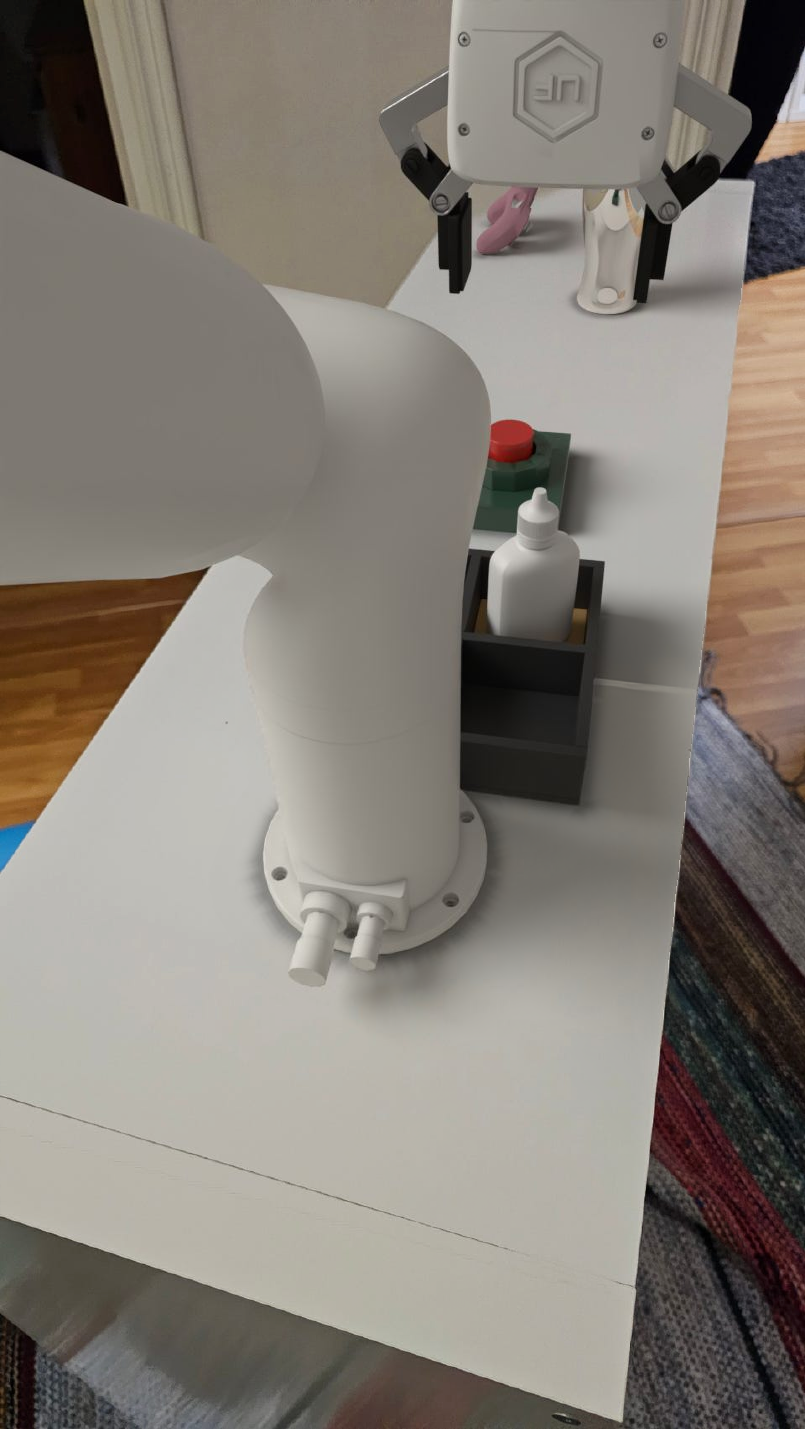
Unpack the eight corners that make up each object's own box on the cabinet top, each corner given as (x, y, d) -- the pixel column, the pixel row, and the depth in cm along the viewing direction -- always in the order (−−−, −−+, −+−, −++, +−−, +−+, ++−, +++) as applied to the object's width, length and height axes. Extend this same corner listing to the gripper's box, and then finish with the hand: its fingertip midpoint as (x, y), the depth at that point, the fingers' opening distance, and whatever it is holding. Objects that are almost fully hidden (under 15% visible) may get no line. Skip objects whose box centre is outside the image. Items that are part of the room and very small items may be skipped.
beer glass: (621, 281, 101) (642, 121, 90) (653, 309, 97) (679, 145, 86) (561, 293, 100) (575, 132, 89) (590, 322, 96) (609, 157, 84)
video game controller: (507, 272, 107) (539, 214, 102) (471, 251, 106) (502, 192, 101) (518, 235, 114) (548, 179, 108) (484, 216, 113) (513, 158, 108)
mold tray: (578, 806, 56) (587, 756, 53) (299, 768, 59) (289, 719, 56) (597, 611, 67) (605, 560, 64) (361, 587, 70) (356, 537, 67)
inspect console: (557, 537, 73) (561, 493, 70) (440, 527, 75) (440, 483, 72) (568, 456, 80) (573, 413, 77) (462, 448, 82) (462, 405, 79)
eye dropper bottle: (488, 615, 66) (493, 467, 57) (570, 619, 66) (588, 470, 57) (484, 660, 64) (489, 511, 55) (570, 665, 63) (589, 515, 54)
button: (529, 466, 73) (531, 446, 72) (482, 463, 74) (483, 443, 73) (534, 440, 76) (536, 420, 74) (489, 437, 76) (490, 417, 75)
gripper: (344, -111, 37) (376, 312, 50) (810, -123, 34) (716, 331, 47) (386, -148, 42) (405, 248, 55) (800, -161, 39) (716, 262, 52)
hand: (549, 286), depth 51 cm, fingers open, 9 cm apart
